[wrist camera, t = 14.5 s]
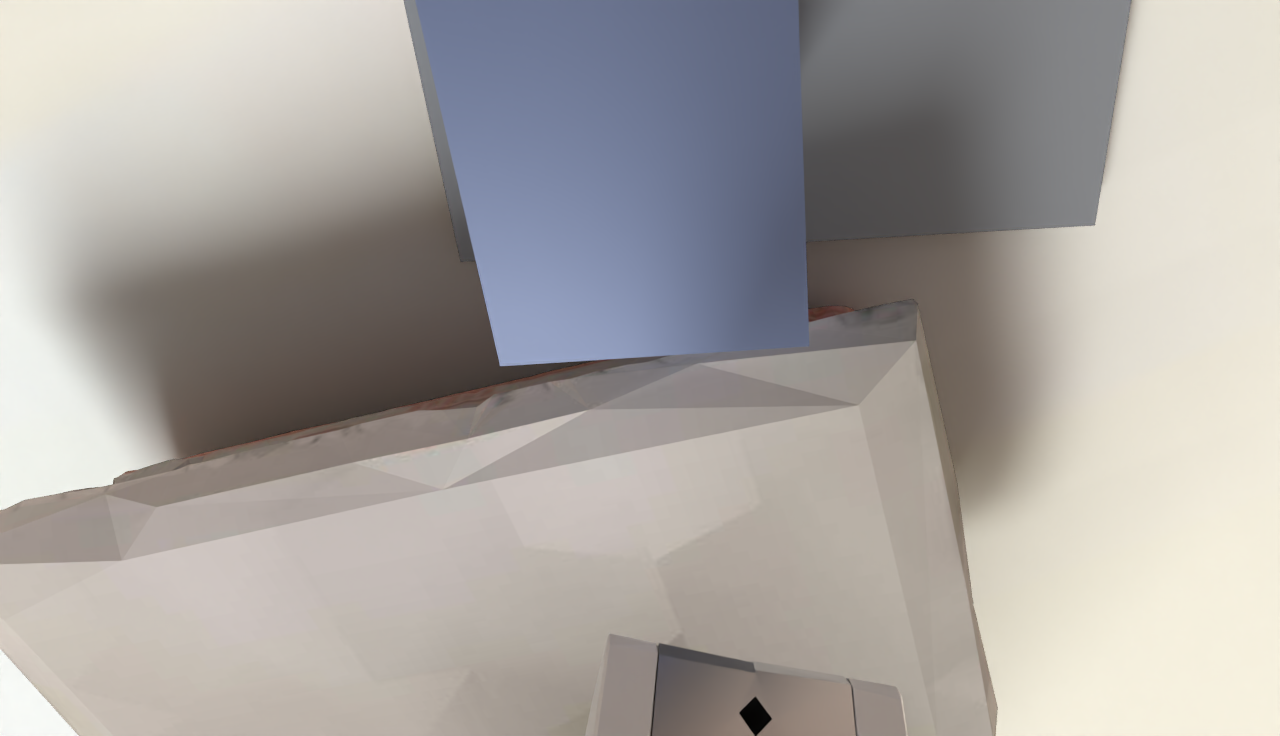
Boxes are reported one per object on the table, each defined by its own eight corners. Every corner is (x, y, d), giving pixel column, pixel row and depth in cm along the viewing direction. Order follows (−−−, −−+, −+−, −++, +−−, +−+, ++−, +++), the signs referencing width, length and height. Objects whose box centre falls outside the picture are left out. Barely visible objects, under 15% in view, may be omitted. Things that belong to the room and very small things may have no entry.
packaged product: (961, 579, 24) (884, 189, 19) (1013, 767, 20) (934, 337, 15) (258, 703, 28) (30, 404, 22) (183, 882, 24) (-115, 569, 19)
